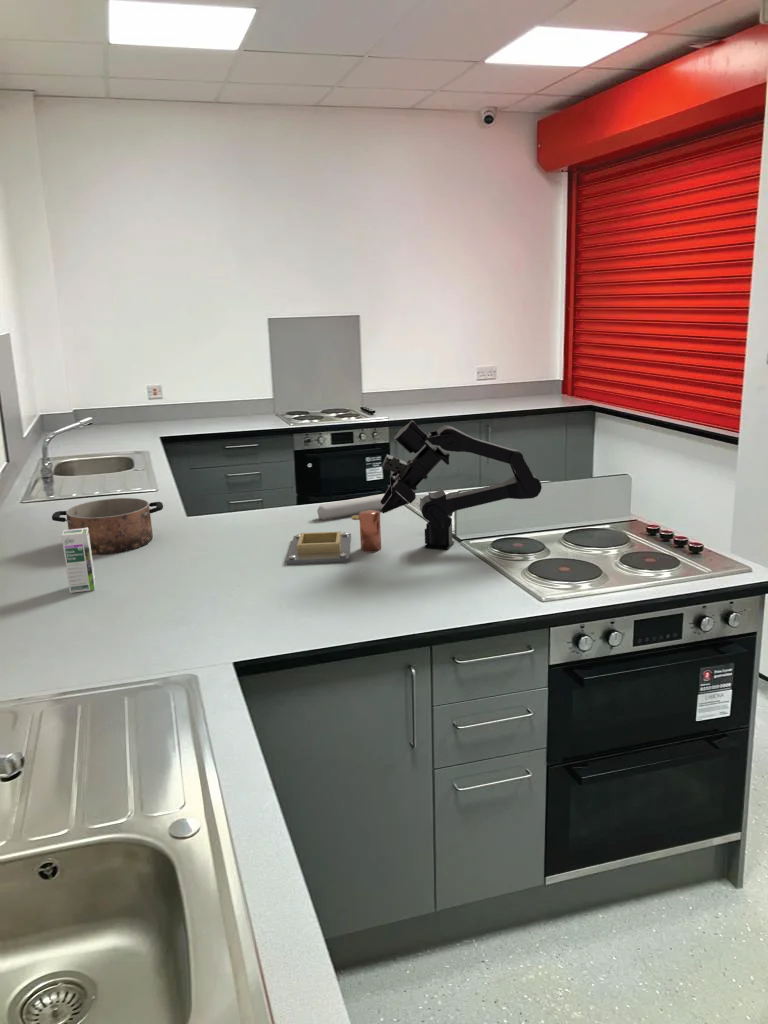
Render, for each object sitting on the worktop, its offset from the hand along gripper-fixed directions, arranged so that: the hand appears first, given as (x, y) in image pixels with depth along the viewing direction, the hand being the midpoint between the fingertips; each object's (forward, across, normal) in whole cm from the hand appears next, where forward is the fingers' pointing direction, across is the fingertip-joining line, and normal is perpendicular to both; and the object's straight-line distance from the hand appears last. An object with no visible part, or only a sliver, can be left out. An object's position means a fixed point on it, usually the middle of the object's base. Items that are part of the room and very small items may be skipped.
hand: (381, 507), depth 217 cm
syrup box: (+60, +23, -43) cm, 77 cm away
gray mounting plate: (+20, 0, -4) cm, 20 cm away
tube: (+14, -37, +2) cm, 40 cm away
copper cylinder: (+11, 0, +5) cm, 12 cm away
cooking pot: (+63, -15, -46) cm, 79 cm away
